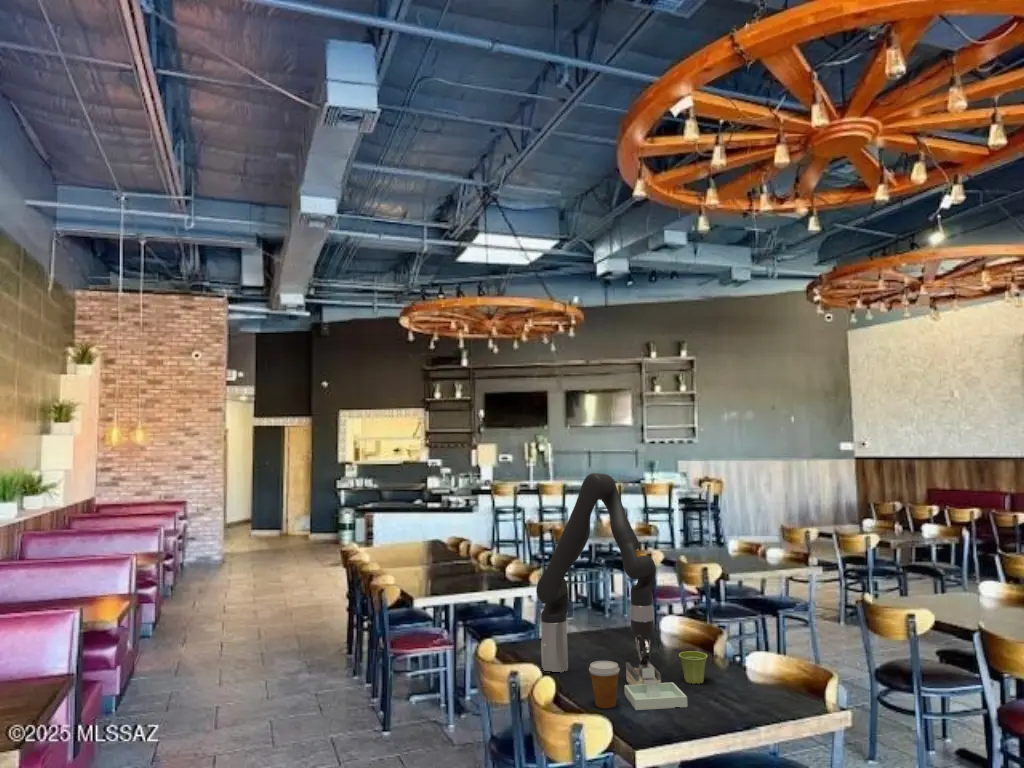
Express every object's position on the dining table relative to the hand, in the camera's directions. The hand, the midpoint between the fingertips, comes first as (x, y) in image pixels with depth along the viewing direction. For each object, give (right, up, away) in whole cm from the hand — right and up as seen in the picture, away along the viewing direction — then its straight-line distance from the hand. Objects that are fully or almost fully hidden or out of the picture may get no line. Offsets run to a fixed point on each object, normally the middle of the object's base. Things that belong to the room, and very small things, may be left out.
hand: (644, 671), depth 238 cm
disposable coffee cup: (-15, -5, -15) cm, 22 cm away
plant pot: (+18, -5, +4) cm, 19 cm away
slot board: (0, -5, +1) cm, 5 cm away
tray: (+1, -4, -13) cm, 14 cm away
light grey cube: (0, -1, -4) cm, 4 cm away
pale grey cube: (+1, -2, -7) cm, 8 cm away
